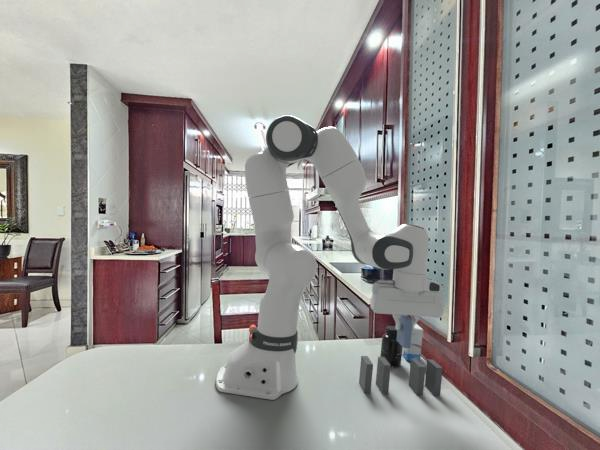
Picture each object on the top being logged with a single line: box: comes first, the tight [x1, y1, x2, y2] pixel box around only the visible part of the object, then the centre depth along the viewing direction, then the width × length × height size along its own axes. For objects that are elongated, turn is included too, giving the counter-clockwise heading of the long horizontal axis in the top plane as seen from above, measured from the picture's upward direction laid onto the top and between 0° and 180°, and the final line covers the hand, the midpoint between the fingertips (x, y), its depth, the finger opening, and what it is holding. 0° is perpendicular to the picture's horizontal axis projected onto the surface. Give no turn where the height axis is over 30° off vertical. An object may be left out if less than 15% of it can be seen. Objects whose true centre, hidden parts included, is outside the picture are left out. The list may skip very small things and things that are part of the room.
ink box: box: [402, 323, 424, 362], centre depth 106 cm, size 9×5×12 cm, turn 179°
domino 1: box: [358, 355, 374, 394], centre depth 82 cm, size 2×5×8 cm, turn 5°
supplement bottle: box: [379, 325, 403, 368], centre depth 99 cm, size 7×7×12 cm
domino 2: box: [375, 356, 392, 395], centre depth 83 cm, size 2×5×8 cm, turn 5°
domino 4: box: [408, 358, 427, 397], centre depth 83 cm, size 2×5×8 cm, turn 5°
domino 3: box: [396, 315, 413, 348], centre depth 83 cm, size 2×5×8 cm, turn 5°
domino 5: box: [424, 358, 443, 397], centre depth 84 cm, size 2×5×8 cm, turn 5°
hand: (404, 330), depth 83 cm, fingers closed on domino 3, 2 cm apart
